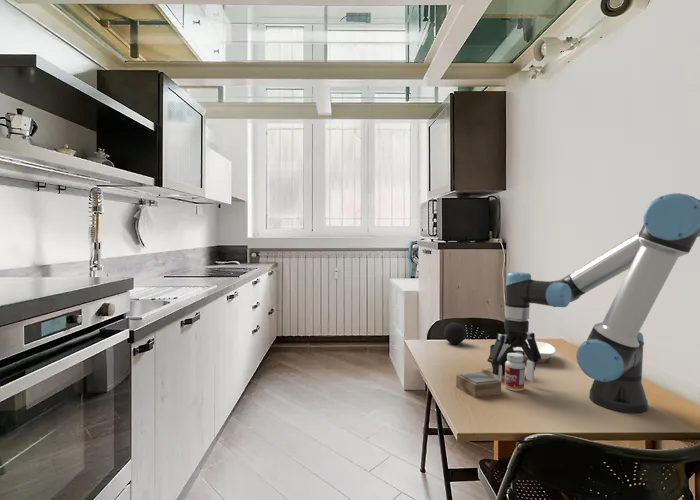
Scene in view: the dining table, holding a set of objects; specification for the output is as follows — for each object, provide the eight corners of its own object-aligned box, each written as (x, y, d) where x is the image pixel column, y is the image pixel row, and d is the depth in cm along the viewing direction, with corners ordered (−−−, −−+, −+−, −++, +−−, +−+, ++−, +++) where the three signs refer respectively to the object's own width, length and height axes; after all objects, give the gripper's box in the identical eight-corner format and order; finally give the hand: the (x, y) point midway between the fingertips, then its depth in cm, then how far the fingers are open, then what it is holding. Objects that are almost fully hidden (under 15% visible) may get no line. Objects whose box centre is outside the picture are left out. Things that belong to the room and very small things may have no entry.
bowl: (558, 368, 165) (559, 355, 165) (499, 362, 172) (500, 349, 172) (551, 354, 185) (552, 342, 185) (499, 349, 192) (499, 337, 192)
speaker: (439, 343, 200) (440, 322, 200) (451, 340, 207) (452, 319, 207) (457, 347, 193) (458, 325, 193) (469, 344, 200) (470, 323, 199)
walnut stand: (500, 394, 135) (501, 380, 135) (475, 397, 132) (475, 383, 132) (480, 383, 145) (481, 371, 145) (456, 386, 141) (456, 373, 141)
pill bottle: (500, 387, 141) (502, 354, 141) (509, 383, 145) (510, 351, 145) (518, 393, 137) (520, 358, 136) (527, 388, 141) (528, 355, 141)
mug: (523, 378, 151) (524, 352, 151) (488, 373, 156) (489, 348, 156) (523, 372, 159) (524, 347, 158) (490, 367, 163) (491, 343, 163)
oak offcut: (502, 378, 151) (502, 369, 151) (494, 381, 148) (494, 372, 148) (489, 374, 155) (489, 366, 155) (481, 377, 152) (482, 368, 151)
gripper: (537, 315, 148) (534, 375, 149) (478, 318, 139) (475, 381, 140) (554, 319, 141) (551, 382, 142) (493, 322, 132) (490, 389, 133)
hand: (513, 382), depth 141 cm, fingers open, 13 cm apart
